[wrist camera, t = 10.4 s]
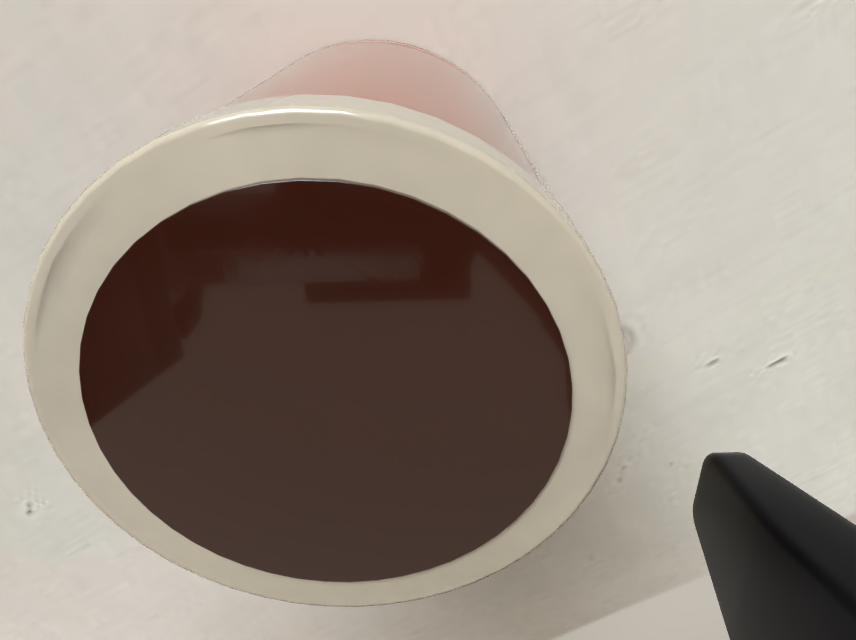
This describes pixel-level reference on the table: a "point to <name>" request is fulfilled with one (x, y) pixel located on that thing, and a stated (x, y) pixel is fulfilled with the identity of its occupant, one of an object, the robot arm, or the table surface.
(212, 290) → the cup
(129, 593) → the table surface
